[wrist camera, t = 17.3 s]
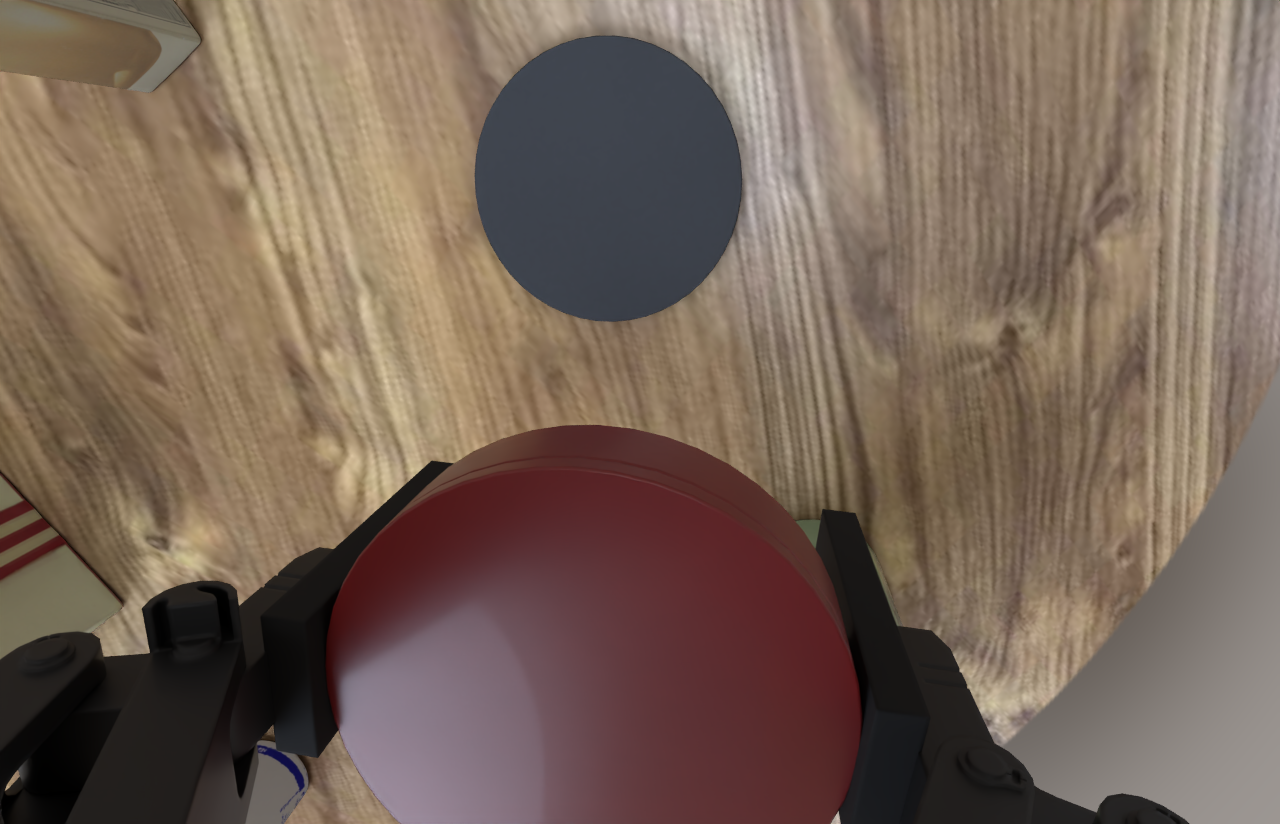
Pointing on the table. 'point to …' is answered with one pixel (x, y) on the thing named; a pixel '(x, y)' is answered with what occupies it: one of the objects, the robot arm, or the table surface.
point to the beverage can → (276, 785)
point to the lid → (594, 644)
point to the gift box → (43, 579)
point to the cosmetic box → (95, 40)
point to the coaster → (608, 178)
